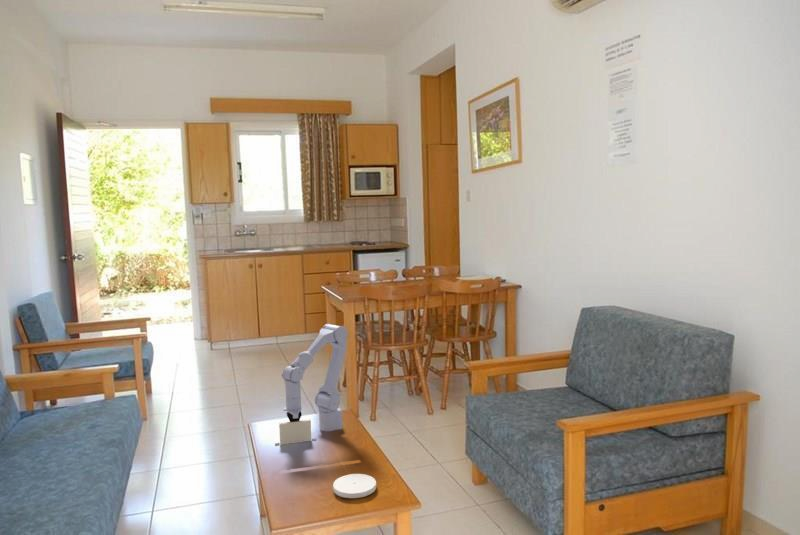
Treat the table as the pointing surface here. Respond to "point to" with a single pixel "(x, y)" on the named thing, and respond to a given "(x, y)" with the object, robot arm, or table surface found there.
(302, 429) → the flap
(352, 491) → the plastic lid
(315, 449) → the table surface
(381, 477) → the table surface
